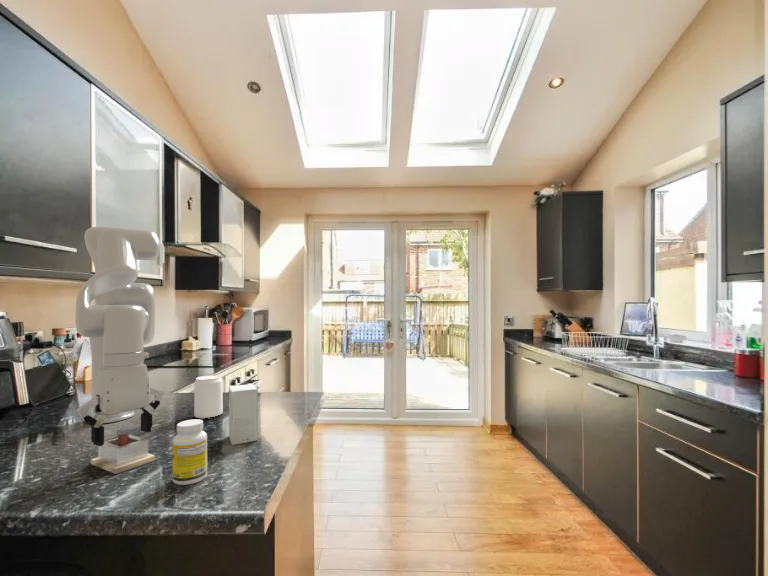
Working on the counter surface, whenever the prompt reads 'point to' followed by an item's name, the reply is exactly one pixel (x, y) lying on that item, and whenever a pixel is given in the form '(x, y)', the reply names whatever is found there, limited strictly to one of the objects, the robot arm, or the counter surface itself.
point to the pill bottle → (189, 453)
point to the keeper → (124, 440)
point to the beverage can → (208, 396)
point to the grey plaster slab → (131, 430)
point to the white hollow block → (123, 450)
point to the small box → (243, 414)
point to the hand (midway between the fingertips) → (123, 437)
